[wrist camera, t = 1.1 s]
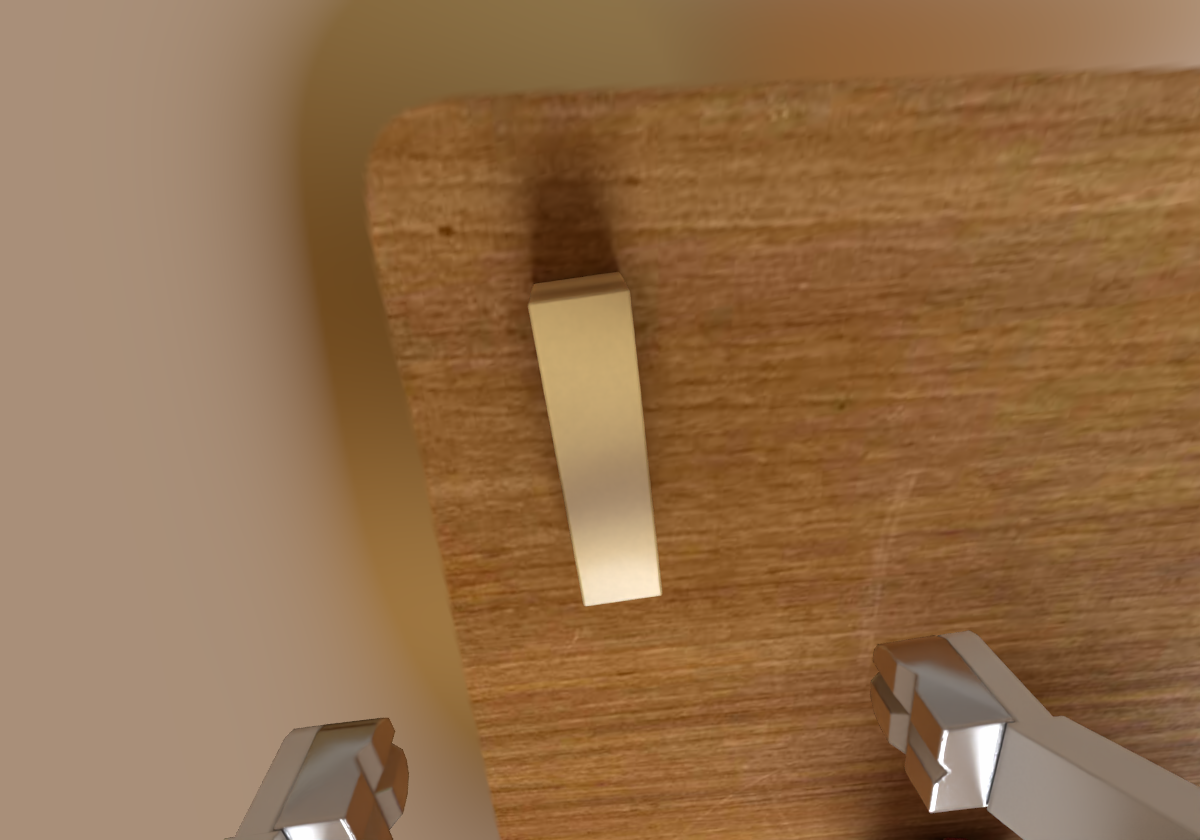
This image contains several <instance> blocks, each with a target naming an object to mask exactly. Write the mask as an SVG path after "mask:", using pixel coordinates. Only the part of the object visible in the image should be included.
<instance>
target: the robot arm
mask: <svg viewBox="0 0 1200 840" xmlns="http://www.w3.org/2000/svg"><path fill="white" fill-rule="evenodd" d="M873 663H874V664H875V666H876V667H877V669H878V671H879V672H878V674H877V675H876V676H875V677H874V678H873V679H872V680H871V691H870V697H871V701H872V706H873V710H874V714H875V716H876V719H877V721H878V724H879V726H880V728H881V730H882V732H883V733H884V735H885V737H886V739H887V741H888V742H889V743H890V744H892V745H893V746H894V747H896V748H897V749H899V750H900V751H902V752H903V753H905V754H906V759H905V767H904V770H905V772H906V774H907V775H908V777H909V779H910V780H911V782H912V784H913V785H914V787H915V789H916V791H917V792H918V794H919V796H920V797H921V799H922V801H923V803H924V804H925V806H926V808H927V809H928V811H929V813H936V812H944V811H953V810H962V809H970V808H979V807H987V811H989V812H990V813H991V814H992V815H994V816H995V817H996V818H997V819H999V820H1000V821H1001V822H1002V823H1004V824H1005V825H1006V826H1007V827H1009V828H1010V829H1011V830H1012V831H1014V832H1015V833H1016V834H1017V835H1019V836H1020V837H1021V838H1022V839H1023V840H1200V787H1198V786H1196V785H1195V784H1193V783H1191V782H1189V781H1187V780H1185V779H1183V778H1181V777H1179V776H1177V775H1176V774H1174V773H1172V772H1170V771H1168V770H1166V769H1164V768H1162V767H1160V766H1158V765H1156V764H1155V763H1153V762H1151V761H1149V760H1147V759H1145V758H1143V757H1141V756H1139V755H1137V754H1135V753H1134V752H1132V751H1130V750H1128V749H1126V748H1124V747H1122V746H1120V745H1118V744H1116V743H1114V742H1113V741H1111V740H1109V739H1107V738H1105V737H1103V736H1101V735H1099V734H1097V733H1095V732H1094V731H1092V730H1090V729H1088V728H1086V727H1084V726H1082V725H1080V724H1078V723H1076V722H1074V721H1073V720H1071V719H1069V718H1067V717H1065V716H1055V717H1053V716H1052V715H1051V714H1050V713H1049V712H1048V711H1047V709H1046V708H1045V707H1044V706H1043V705H1042V704H1041V703H1040V702H1039V701H1038V700H1037V699H1036V698H1035V696H1034V695H1033V694H1032V693H1031V692H1030V691H1029V690H1028V689H1027V688H1026V687H1025V686H1024V685H1023V683H1022V682H1021V681H1020V680H1019V679H1018V678H1017V677H1016V676H1015V675H1014V674H1013V673H1012V672H1011V671H1010V669H1009V668H1008V667H1007V666H1006V665H1005V664H1004V663H1003V662H1002V661H1001V660H1000V659H999V658H998V656H997V655H996V654H995V653H994V652H993V651H992V650H991V649H990V648H989V647H988V646H987V645H986V643H985V642H984V641H983V640H982V639H981V638H980V637H979V636H978V635H977V634H975V633H973V632H971V631H963V632H956V633H950V634H943V635H938V636H935V635H933V636H926V637H920V638H914V639H908V640H901V641H895V642H889V643H883V644H878V645H877V646H876V648H875V649H874V654H873ZM394 733H395V730H394V728H393V725H392V723H391V721H390V719H389V718H377V719H369V720H360V721H352V722H343V723H335V724H327V725H320V726H312V727H305V728H297V729H294V730H293V731H291V732H290V733H289V734H288V735H287V736H286V737H285V739H284V740H283V743H282V744H281V746H280V749H279V750H278V752H277V755H276V756H275V758H274V760H273V763H272V764H271V766H270V768H269V770H268V772H267V774H266V776H265V778H264V780H263V782H262V784H261V786H260V788H259V790H258V792H257V794H256V796H255V798H254V800H253V802H252V804H251V806H250V808H249V810H248V812H247V813H246V815H245V817H244V819H243V822H242V823H241V825H240V828H239V829H238V831H237V833H236V835H235V837H230V838H225V839H224V840H393V838H392V835H391V833H390V831H389V830H390V829H391V828H392V826H393V825H394V824H395V823H396V821H397V820H398V819H399V818H400V817H401V815H402V814H403V811H404V807H405V803H406V799H407V794H408V779H409V772H408V765H407V759H406V757H405V754H404V752H403V749H401V748H399V747H398V746H396V745H394V744H393V743H392V740H393V737H394Z"/></svg>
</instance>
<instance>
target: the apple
mask: <svg viewBox="0 0 1200 840" xmlns="http://www.w3.org/2000/svg"><path fill="white" fill-rule="evenodd" d="M942 840H968V839H966V838H945V839H942Z"/></svg>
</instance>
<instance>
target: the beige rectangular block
mask: <svg viewBox="0 0 1200 840" xmlns="http://www.w3.org/2000/svg"><path fill="white" fill-rule="evenodd" d="M528 310H529V316H530V321H531V327H532V332H533V337H534V343H535V348H536V353H537V359H538V364H539V369H540V375H541V380H542V386H543V391H544V396H545V402H546V407H547V412H548V418H549V423H550V429H551V434H552V439H553V445H554V450H555V455H556V461H557V466H558V471H559V477H560V482H561V488H562V493H563V498H564V504H565V509H566V514H567V520H568V525H569V531H570V536H571V541H572V547H573V552H574V557H575V563H576V568H577V573H578V579H579V584H580V590H581V595H582V600H583V604H584V606H592V605H599V604H606V603H613V602H620V601H626V600H633V599H640V598H647V597H654V596H660V595H662V585H661V575H660V566H659V557H658V547H657V538H656V529H655V519H654V510H653V501H652V491H651V482H650V473H649V463H648V454H647V445H646V435H645V426H644V417H643V407H642V398H641V389H640V379H639V370H638V361H637V351H636V342H635V333H634V323H633V314H632V305H631V295H630V290H629V288H628V287H627V285H626V283H625V281H624V279H623V278H622V276H621V274H620V272H613V273H606V274H599V275H592V276H585V277H578V278H571V279H565V280H558V281H551V282H544V283H537V284H534V285H533V287H532V291H531V294H530V298H529V302H528Z"/></svg>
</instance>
